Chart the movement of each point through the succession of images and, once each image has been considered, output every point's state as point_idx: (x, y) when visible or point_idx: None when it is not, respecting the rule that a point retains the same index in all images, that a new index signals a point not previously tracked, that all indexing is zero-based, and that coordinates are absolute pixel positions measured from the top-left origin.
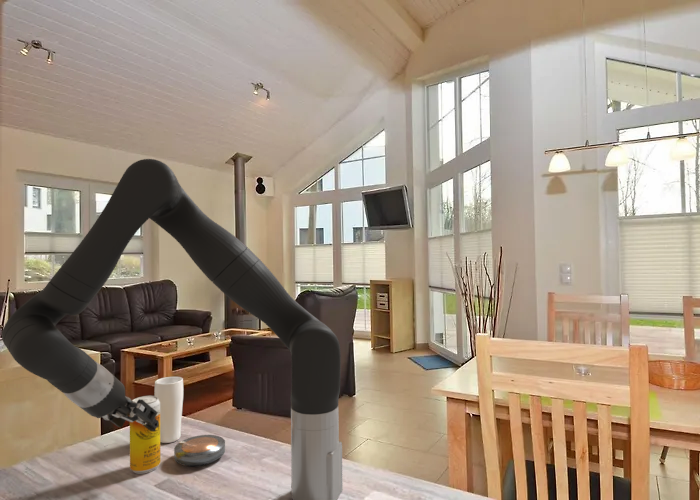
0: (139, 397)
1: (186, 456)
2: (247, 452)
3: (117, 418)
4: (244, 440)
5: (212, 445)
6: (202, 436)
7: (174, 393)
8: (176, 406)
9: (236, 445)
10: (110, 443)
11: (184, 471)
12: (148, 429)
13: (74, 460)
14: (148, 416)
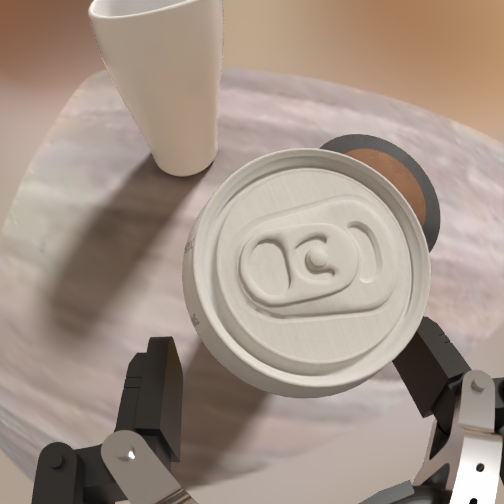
0: (202, 219)
1: None
2: (429, 159)
3: (172, 413)
4: (378, 112)
5: (412, 190)
6: (338, 147)
7: (215, 34)
8: (219, 75)
9: (384, 135)
10: (44, 233)
11: None
12: (397, 368)
13: (33, 345)
14: (501, 418)
